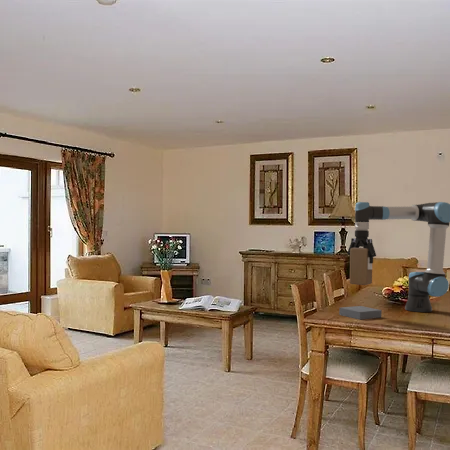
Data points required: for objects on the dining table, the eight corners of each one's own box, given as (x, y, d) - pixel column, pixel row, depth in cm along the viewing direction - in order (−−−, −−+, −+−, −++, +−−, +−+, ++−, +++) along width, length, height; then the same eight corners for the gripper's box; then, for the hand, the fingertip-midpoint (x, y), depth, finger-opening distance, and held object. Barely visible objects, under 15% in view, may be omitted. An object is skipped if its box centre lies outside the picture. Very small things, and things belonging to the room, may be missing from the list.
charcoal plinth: (360, 312, 301) (360, 305, 301) (381, 317, 287) (381, 310, 287) (339, 314, 293) (339, 307, 293) (359, 319, 279) (359, 312, 279)
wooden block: (372, 283, 292) (373, 248, 291) (366, 285, 283) (367, 248, 283) (355, 282, 297) (355, 247, 297) (349, 284, 288) (349, 247, 288)
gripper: (341, 229, 299) (340, 266, 299) (373, 230, 277) (372, 270, 277) (351, 229, 303) (350, 266, 303) (383, 230, 281) (382, 270, 281)
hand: (361, 268), depth 290 cm, fingers closed on wooden block, 13 cm apart
